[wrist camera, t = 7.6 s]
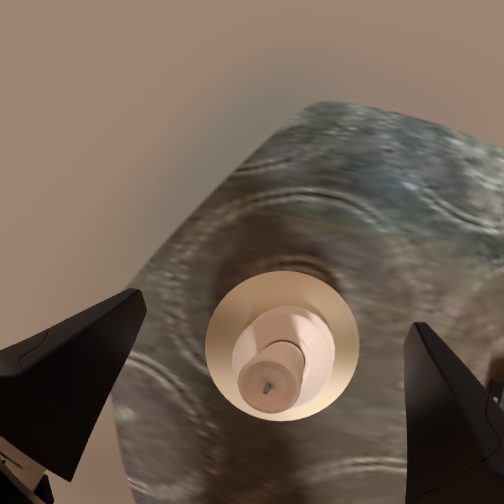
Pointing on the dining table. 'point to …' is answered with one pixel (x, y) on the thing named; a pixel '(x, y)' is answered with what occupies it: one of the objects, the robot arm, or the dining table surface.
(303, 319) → the candle
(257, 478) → the dining table surface
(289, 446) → the dining table surface
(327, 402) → the stand
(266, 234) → the dining table surface
